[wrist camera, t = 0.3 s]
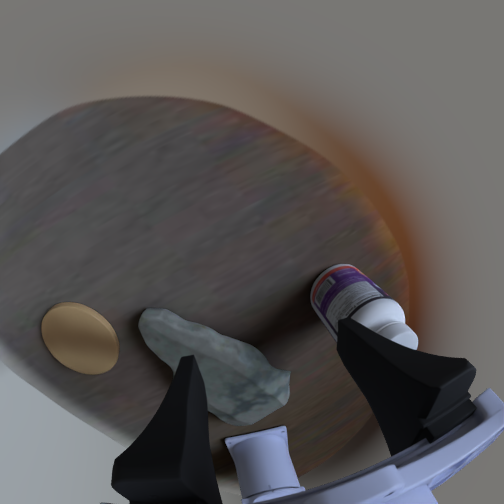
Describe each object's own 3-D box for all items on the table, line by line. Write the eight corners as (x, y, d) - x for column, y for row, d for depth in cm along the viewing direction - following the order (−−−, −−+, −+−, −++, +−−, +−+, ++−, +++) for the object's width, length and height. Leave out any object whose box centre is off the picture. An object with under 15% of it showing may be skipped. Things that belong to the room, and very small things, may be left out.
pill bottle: (364, 299, 26) (423, 361, 17) (315, 323, 26) (363, 397, 17) (357, 252, 24) (428, 309, 15) (302, 276, 24) (357, 350, 15)
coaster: (132, 366, 24) (131, 371, 23) (66, 371, 23) (64, 376, 22) (100, 295, 21) (97, 300, 20) (31, 307, 20) (27, 311, 19)
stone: (107, 343, 20) (202, 279, 19) (116, 321, 23) (203, 261, 22) (230, 438, 27) (311, 400, 26) (227, 417, 29) (302, 379, 29)
